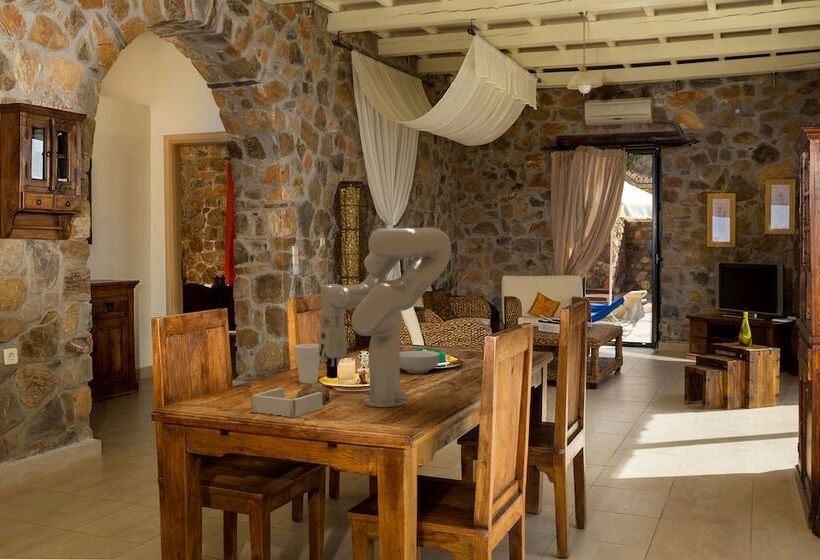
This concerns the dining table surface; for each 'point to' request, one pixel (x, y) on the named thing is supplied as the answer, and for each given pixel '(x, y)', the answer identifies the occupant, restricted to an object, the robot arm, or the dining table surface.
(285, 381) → the dining table surface
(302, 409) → the bin
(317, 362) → the foam cup
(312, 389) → the bread roll
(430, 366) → the cereal bowl
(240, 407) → the dining table surface
